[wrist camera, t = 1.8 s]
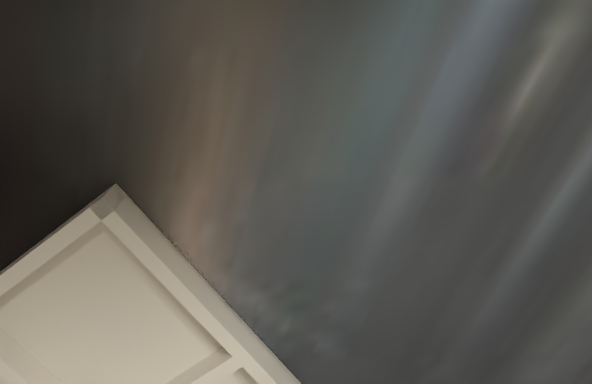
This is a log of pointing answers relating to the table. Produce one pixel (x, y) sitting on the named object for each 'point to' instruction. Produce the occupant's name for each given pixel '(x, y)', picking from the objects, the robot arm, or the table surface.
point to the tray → (121, 310)
